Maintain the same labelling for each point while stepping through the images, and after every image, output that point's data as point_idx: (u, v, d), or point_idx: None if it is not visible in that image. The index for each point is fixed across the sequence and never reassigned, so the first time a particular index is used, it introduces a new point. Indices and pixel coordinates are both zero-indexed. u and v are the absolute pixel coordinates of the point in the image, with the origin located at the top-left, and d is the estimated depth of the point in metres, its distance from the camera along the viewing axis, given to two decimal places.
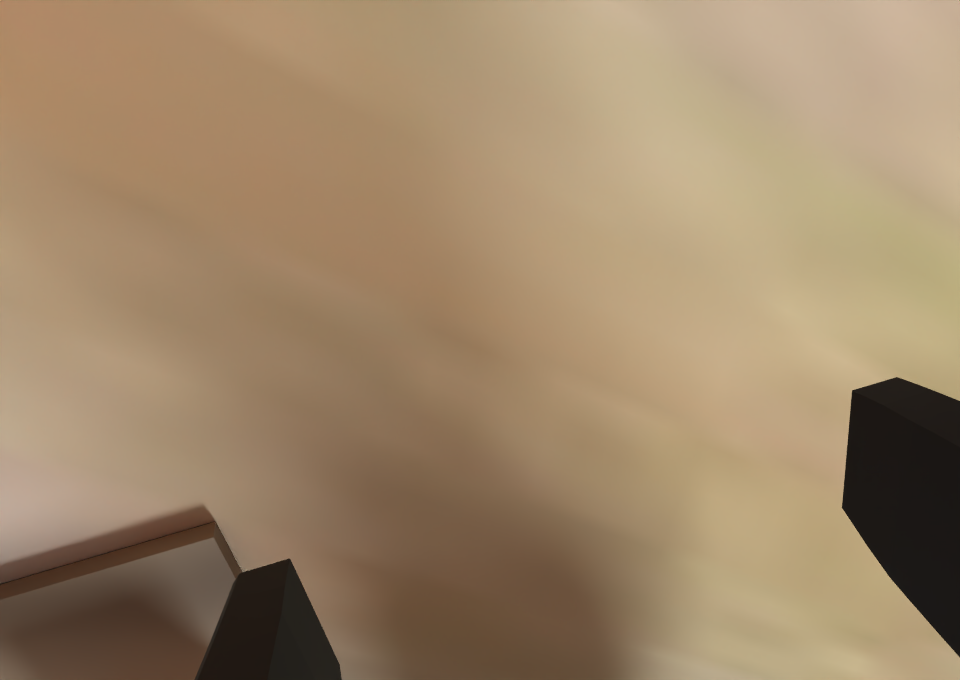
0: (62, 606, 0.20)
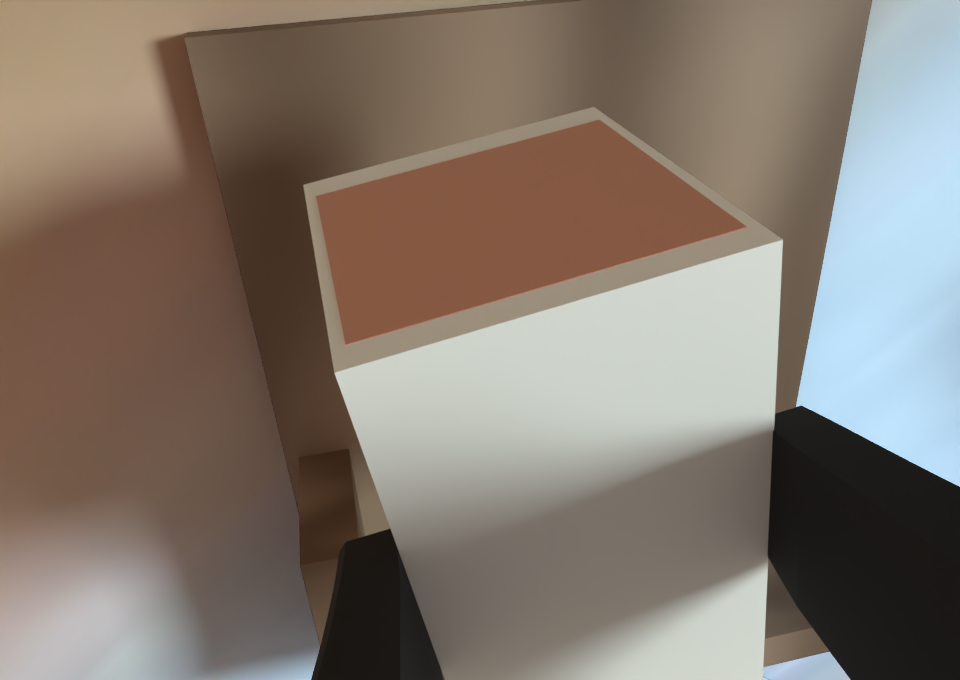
0: (280, 259, 0.16)
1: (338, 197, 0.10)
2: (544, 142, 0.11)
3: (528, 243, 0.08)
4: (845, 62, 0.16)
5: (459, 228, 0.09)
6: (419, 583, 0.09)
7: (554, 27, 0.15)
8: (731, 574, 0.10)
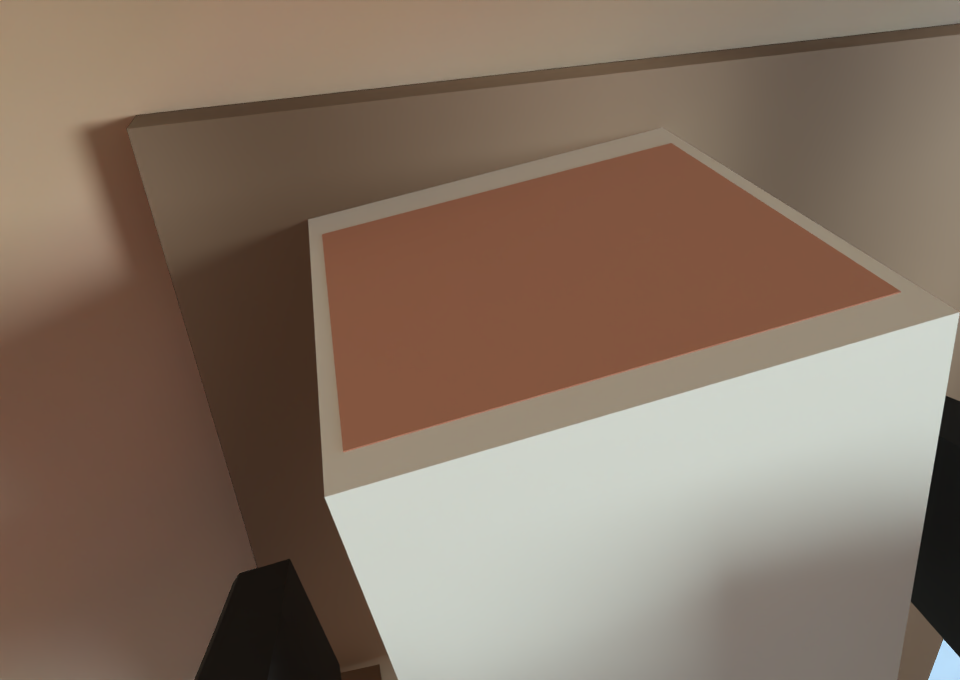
0: (283, 437, 0.11)
1: (348, 236, 0.08)
2: (603, 171, 0.09)
3: (592, 305, 0.06)
4: None
5: (499, 282, 0.07)
6: None
7: (706, 98, 0.09)
8: None
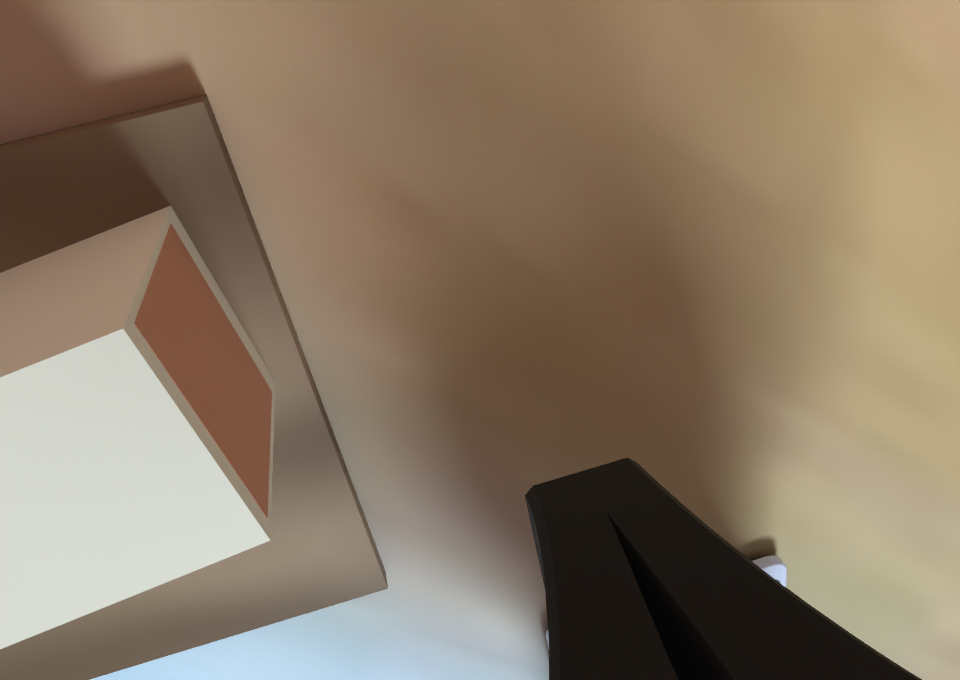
0: None
1: (177, 242, 0.14)
2: (251, 365, 0.16)
3: (213, 398, 0.13)
4: (324, 598, 0.21)
5: (201, 347, 0.13)
6: None
7: (295, 398, 0.18)
8: None
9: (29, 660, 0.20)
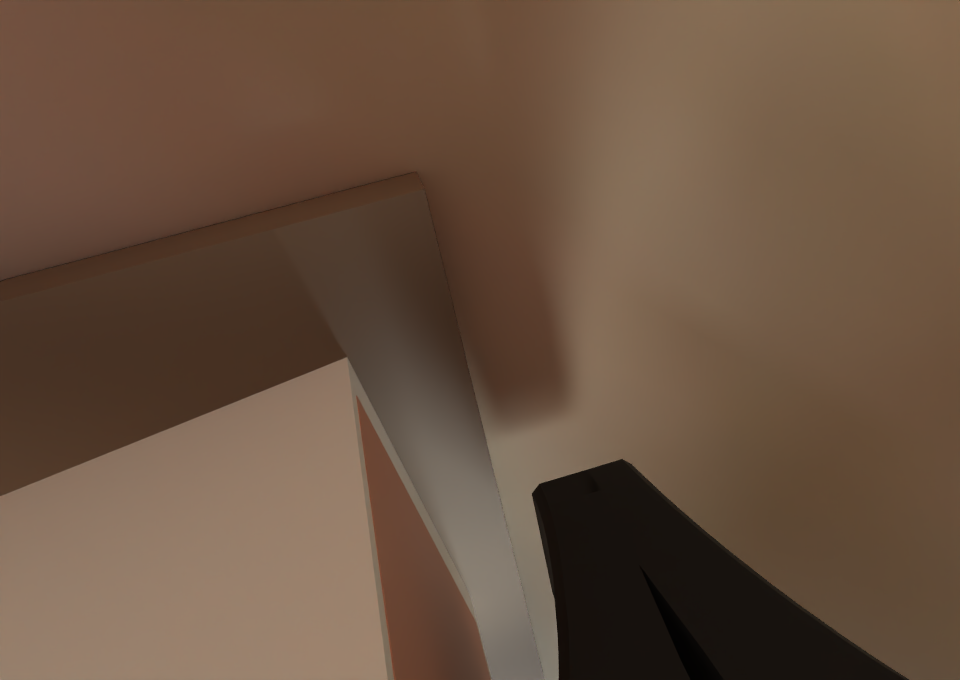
0: (42, 368, 0.08)
1: (369, 429, 0.08)
2: (458, 598, 0.10)
3: None
4: None
5: (438, 645, 0.07)
6: None
7: (499, 613, 0.12)
8: None
9: None
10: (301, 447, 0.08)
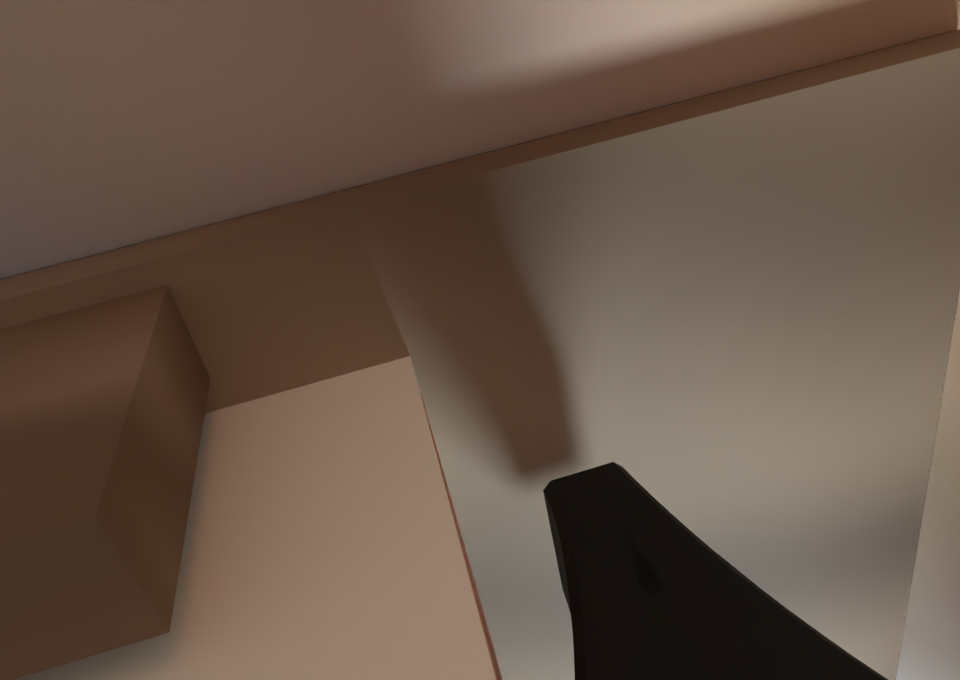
0: (636, 205, 0.09)
1: (430, 428, 0.08)
2: (481, 604, 0.10)
3: None
4: None
5: (491, 645, 0.07)
6: None
7: (903, 486, 0.12)
8: None
9: None
10: (372, 438, 0.08)
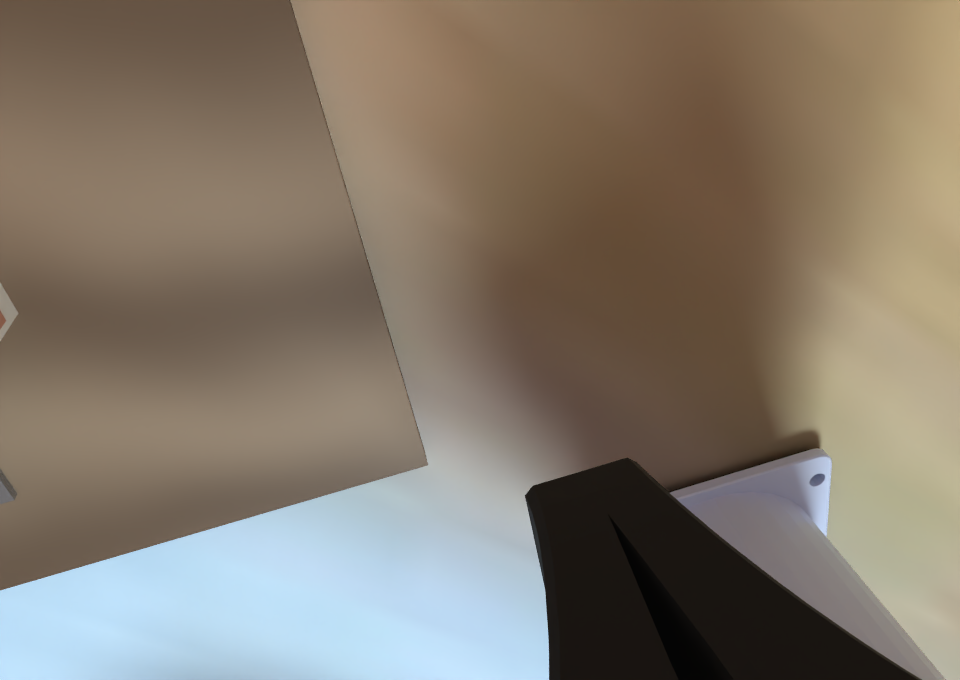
0: None
1: None
2: None
3: None
4: (362, 473, 0.20)
5: None
6: None
7: (340, 241, 0.17)
8: None
9: (60, 530, 0.19)
10: None
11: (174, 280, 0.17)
